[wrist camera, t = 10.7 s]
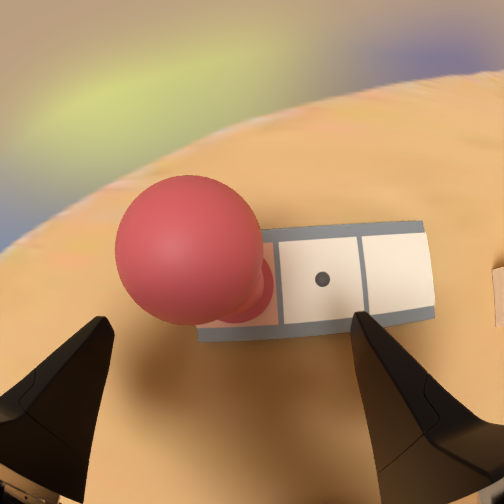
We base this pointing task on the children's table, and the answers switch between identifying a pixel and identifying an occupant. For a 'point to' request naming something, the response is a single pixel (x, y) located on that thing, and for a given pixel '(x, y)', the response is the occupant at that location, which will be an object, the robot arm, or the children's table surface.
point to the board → (338, 281)
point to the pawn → (193, 253)
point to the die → (499, 294)
